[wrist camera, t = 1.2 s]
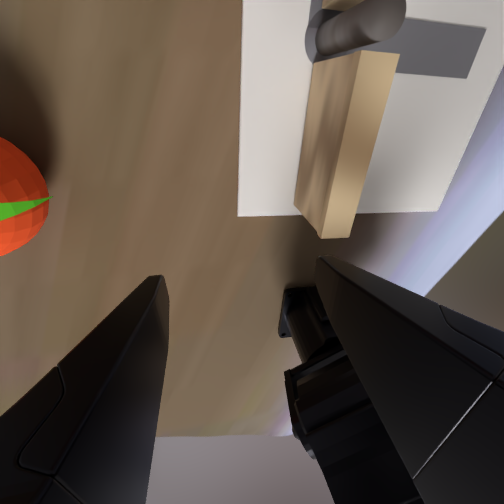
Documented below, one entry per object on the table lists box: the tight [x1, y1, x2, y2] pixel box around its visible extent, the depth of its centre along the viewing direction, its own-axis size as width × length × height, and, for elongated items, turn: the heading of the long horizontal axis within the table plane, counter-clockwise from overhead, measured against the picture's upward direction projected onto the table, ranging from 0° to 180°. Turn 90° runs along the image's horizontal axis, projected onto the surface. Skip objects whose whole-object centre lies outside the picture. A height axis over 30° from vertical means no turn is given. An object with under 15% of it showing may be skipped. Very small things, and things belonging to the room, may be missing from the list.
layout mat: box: [237, 0, 504, 217], centre depth 16 cm, size 20×18×1 cm
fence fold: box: [294, 50, 400, 239], centre depth 15 cm, size 9×2×6 cm, turn 177°
